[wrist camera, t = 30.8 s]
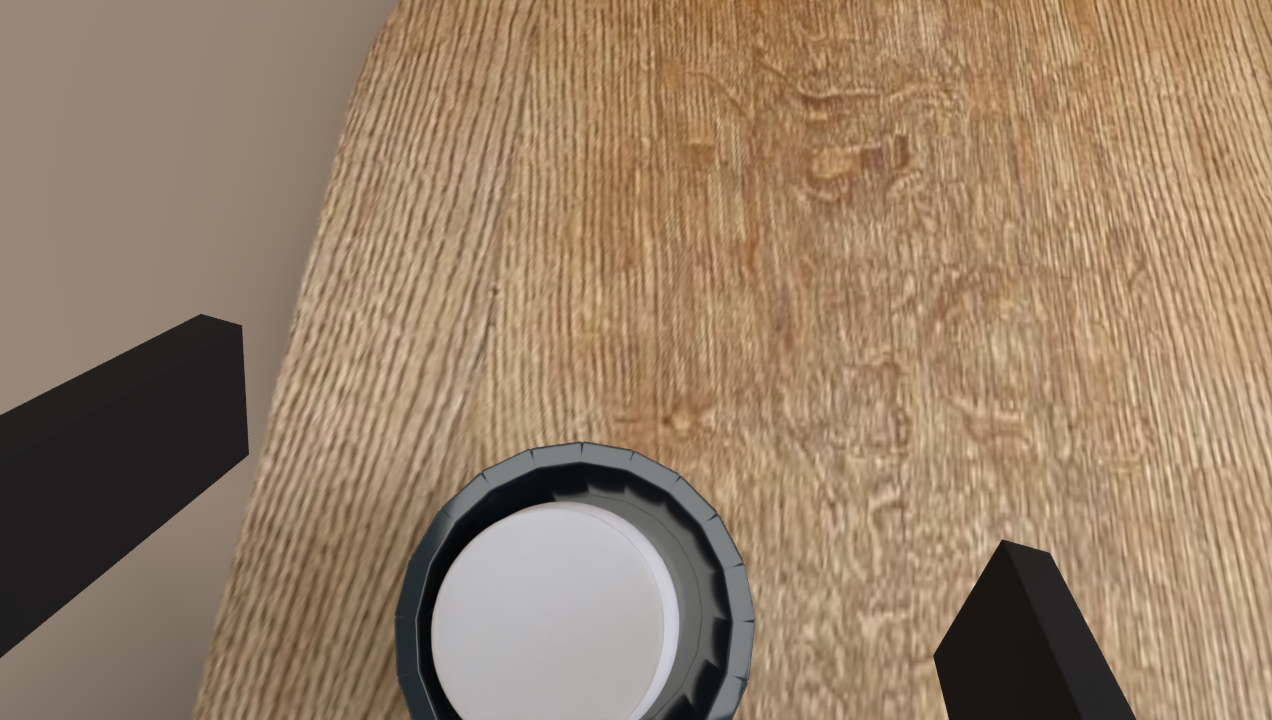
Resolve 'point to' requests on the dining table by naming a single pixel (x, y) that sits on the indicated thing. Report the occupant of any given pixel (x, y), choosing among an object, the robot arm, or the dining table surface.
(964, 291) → the dining table surface
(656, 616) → the pill bottle
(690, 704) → the tube
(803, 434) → the dining table surface
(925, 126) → the dining table surface
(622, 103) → the dining table surface
